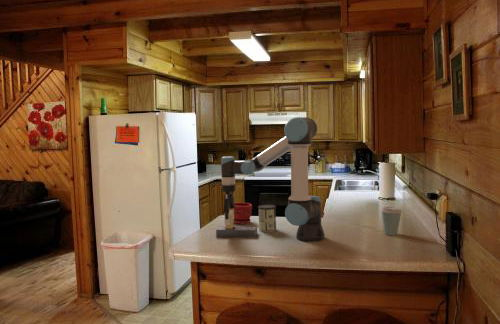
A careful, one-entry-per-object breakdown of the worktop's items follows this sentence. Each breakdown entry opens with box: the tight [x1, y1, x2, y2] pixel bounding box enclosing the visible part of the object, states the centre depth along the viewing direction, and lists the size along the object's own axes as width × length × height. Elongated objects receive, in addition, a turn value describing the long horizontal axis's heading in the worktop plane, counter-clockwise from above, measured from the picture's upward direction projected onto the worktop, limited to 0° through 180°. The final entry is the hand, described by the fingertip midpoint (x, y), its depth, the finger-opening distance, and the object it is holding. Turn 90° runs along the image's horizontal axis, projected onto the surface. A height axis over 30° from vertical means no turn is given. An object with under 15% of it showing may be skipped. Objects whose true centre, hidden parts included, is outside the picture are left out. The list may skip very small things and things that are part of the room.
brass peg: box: [225, 208, 235, 229], centre depth 239 cm, size 4×4×15 cm
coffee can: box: [257, 204, 277, 233], centre depth 249 cm, size 10×10×14 cm
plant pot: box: [234, 202, 253, 225], centre depth 269 cm, size 13×13×12 cm
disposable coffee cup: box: [380, 206, 402, 237], centre depth 232 cm, size 11×11×15 cm
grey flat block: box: [215, 225, 258, 238], centre depth 238 cm, size 22×8×4 cm, turn 82°
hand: (229, 222), depth 238 cm, fingers open, 12 cm apart
